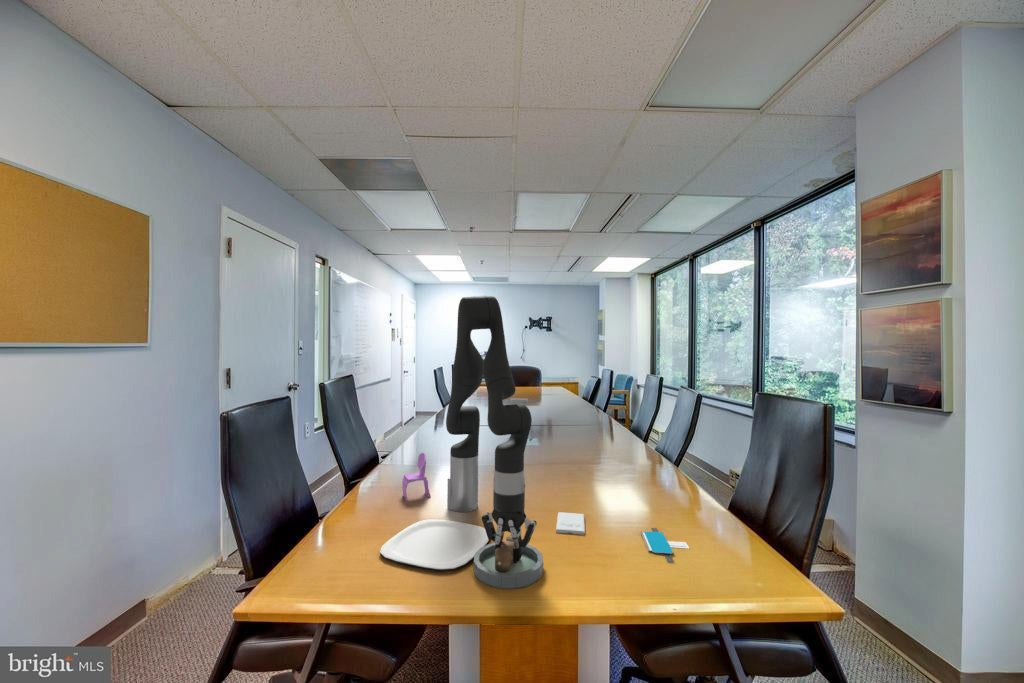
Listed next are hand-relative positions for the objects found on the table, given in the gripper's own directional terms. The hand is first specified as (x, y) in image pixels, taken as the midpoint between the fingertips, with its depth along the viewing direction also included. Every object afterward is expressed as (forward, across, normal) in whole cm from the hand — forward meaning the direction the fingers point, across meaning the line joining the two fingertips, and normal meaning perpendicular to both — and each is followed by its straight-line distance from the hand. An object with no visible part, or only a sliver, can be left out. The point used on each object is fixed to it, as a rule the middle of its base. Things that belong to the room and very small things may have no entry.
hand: (508, 559), depth 100 cm
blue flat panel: (+3, +34, +28) cm, 44 cm away
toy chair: (+2, -48, +32) cm, 58 cm away
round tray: (+2, 0, 0) cm, 2 cm away
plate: (+3, -22, +4) cm, 23 cm away
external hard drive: (+3, +8, +30) cm, 32 cm away
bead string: (0, 0, 0) cm, 0 cm away
